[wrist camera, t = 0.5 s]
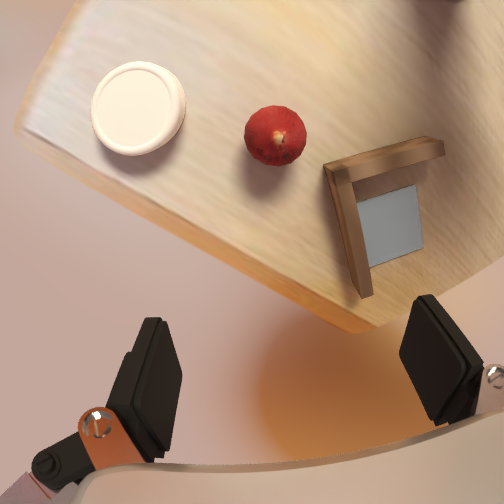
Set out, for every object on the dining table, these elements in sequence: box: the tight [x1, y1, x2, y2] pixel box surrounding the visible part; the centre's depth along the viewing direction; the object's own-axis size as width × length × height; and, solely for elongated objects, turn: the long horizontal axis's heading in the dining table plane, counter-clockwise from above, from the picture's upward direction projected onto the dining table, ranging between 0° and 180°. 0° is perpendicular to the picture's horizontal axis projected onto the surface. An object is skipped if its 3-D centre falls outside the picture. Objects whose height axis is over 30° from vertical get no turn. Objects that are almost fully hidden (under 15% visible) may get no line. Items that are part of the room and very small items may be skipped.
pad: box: [357, 184, 423, 267], centre depth 35 cm, size 9×9×1 cm
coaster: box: [90, 62, 186, 156], centre depth 27 cm, size 10×10×4 cm
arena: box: [323, 136, 445, 299], centre depth 33 cm, size 14×16×4 cm
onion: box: [244, 105, 307, 166], centre depth 27 cm, size 6×6×8 cm
